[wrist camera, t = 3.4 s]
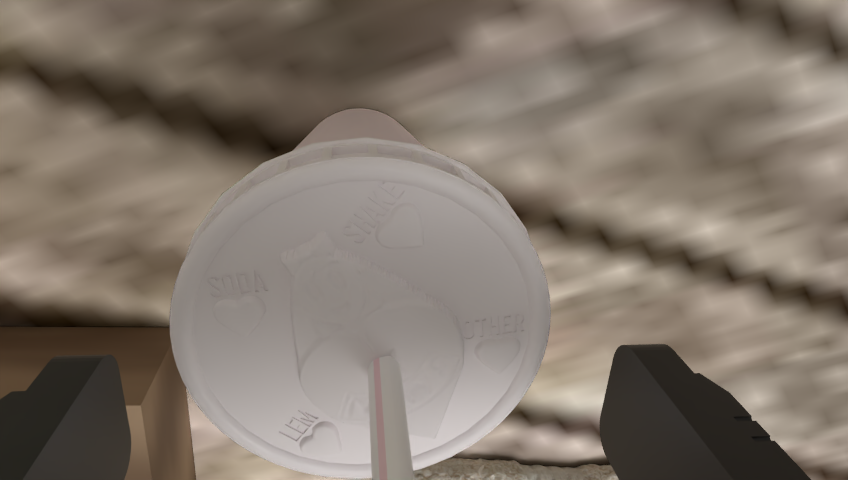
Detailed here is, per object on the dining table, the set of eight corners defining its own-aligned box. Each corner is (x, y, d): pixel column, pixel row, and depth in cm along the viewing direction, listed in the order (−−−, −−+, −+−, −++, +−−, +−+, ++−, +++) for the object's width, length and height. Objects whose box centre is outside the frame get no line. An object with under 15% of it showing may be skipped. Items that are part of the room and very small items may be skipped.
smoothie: (326, 289, 20) (281, 829, 7) (212, 128, 17) (-166, 541, 5) (492, 201, 19) (758, 629, 7) (400, 19, 17) (549, 162, 4)
